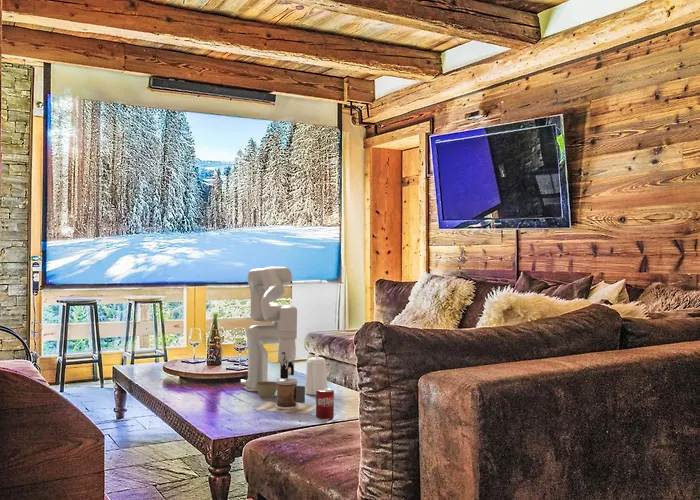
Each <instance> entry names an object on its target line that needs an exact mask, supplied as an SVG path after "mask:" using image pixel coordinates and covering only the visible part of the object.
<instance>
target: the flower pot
mask: <svg viewBox="0 0 700 500" xmlns="http://www.w3.org/2000/svg"><path fill="white" fill-rule="evenodd" d="M256 386H257V390H258V391H257V393H258V395H259V398H265V399H267V398H273V397H275V395H276V394H277V381H268V380H267V381H265V382H258V383H256Z"/></svg>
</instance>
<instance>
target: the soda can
mask: <svg viewBox="0 0 700 500" xmlns="http://www.w3.org/2000/svg"><path fill="white" fill-rule="evenodd" d="M315 405H316V408H315V418H317V419H321V420H327V419H328V420H327V422H331V421H333V420H334V418H335V417H334V415H335V414H334V413H335V391H334V389H333V388H328V387H327V388H322V389H318V390H317V391H316V395H315Z"/></svg>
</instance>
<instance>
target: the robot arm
mask: <svg viewBox="0 0 700 500" xmlns="http://www.w3.org/2000/svg"><path fill="white" fill-rule="evenodd" d="M292 280H293V275H292V271H291V269H290V268H288V267H286V266H267V267H264V268H254V269H253V268H252V269H251V270H249V271H248V274H247V285H248V288H249V291H250V319H251V321H253V322H255V323H271V324H254V325H253V324H252V325H250V326H249V327H248V328H247V329H246V330H247V331H246V337H247V339H246V340H247V347H248V348H247V349H248V355H247V357H248V360H247V361H248V362H247V364H248V365H247V379H240V384H241V385H245V386H244V390H245V391H248V392H258V390H257V386H256V383H258V382H265V381H268V362H269V353H268V350H267V349H266V347H264V345H273V344H278V355H277V362H278V363H279V365H280V367H279V369H280V374H279V376H280V378H284V379H287V378H289V375H288V369H287V367H291V375H290V376H295V360H296V350H297V348H296V347H297V346H296V345H297V344H296V340H297V339H298V338H297V337H298V336H297V335H298V334H297V333H298V329H297V328H298V309H297V307H296V306H294V305H292V304H282V303H281V304H280V303H279V302H274V301H277V300H279V299H280V298H281V297H283V296H284V294H285V287H286V286H288V285H290V284H291V283H292ZM284 286H285V287H284ZM280 378H279V379H280Z"/></svg>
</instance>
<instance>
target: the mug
mask: <svg viewBox="0 0 700 500" xmlns="http://www.w3.org/2000/svg"><path fill="white" fill-rule="evenodd" d="M276 382H277V381H276ZM298 383H299V381H297V382H296V383H291V384H283V383H278V382H277V391H276V402H277V404H275V408H276V409H279V410H294V409H297V408H298V404H305V402H306V393H305V385H298Z"/></svg>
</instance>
